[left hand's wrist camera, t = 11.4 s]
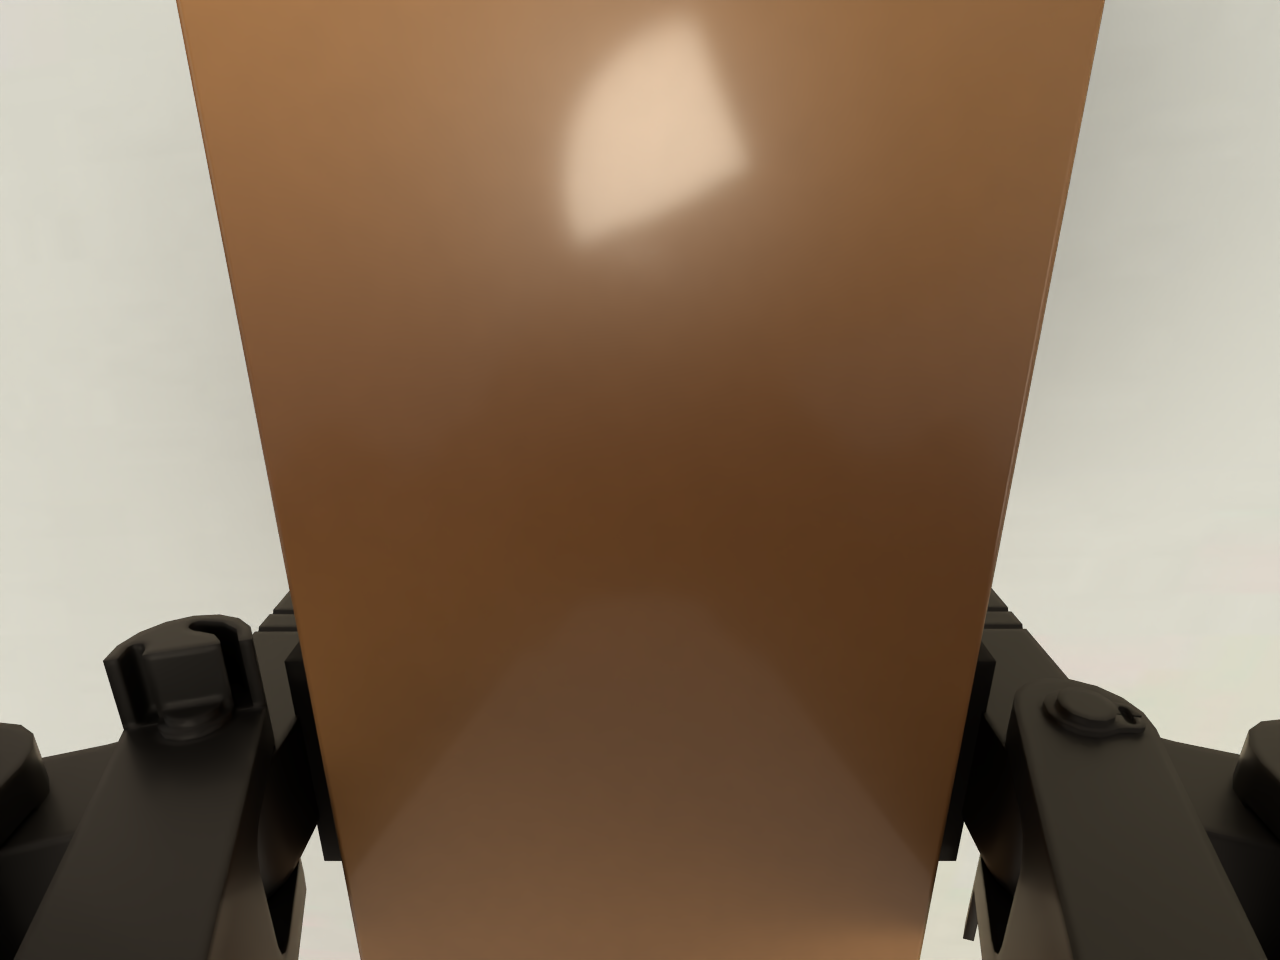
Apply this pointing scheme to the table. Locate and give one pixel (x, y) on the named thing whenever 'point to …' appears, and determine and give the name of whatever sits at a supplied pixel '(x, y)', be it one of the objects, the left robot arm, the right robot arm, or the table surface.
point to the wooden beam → (640, 440)
